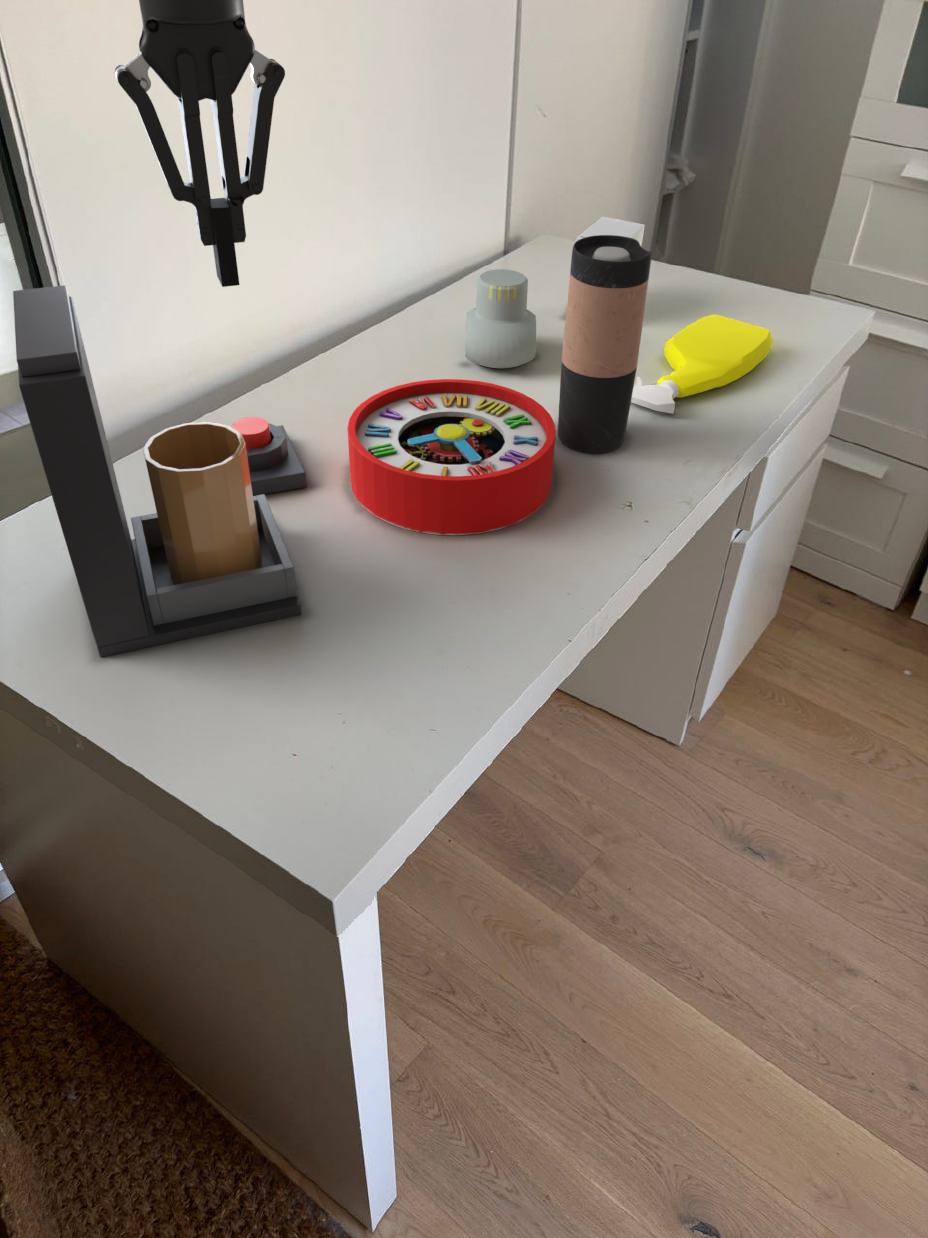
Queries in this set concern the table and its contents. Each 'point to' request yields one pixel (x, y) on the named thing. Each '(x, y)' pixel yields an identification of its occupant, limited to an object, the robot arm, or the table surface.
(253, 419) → the button
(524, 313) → the air freshener
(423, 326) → the table surface
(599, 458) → the table surface
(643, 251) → the travel mug
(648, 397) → the spray bottle
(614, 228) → the cosmetics box
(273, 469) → the switch block
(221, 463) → the cup
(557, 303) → the table surface
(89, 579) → the coffee maker
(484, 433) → the toy clock
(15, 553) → the table surface
